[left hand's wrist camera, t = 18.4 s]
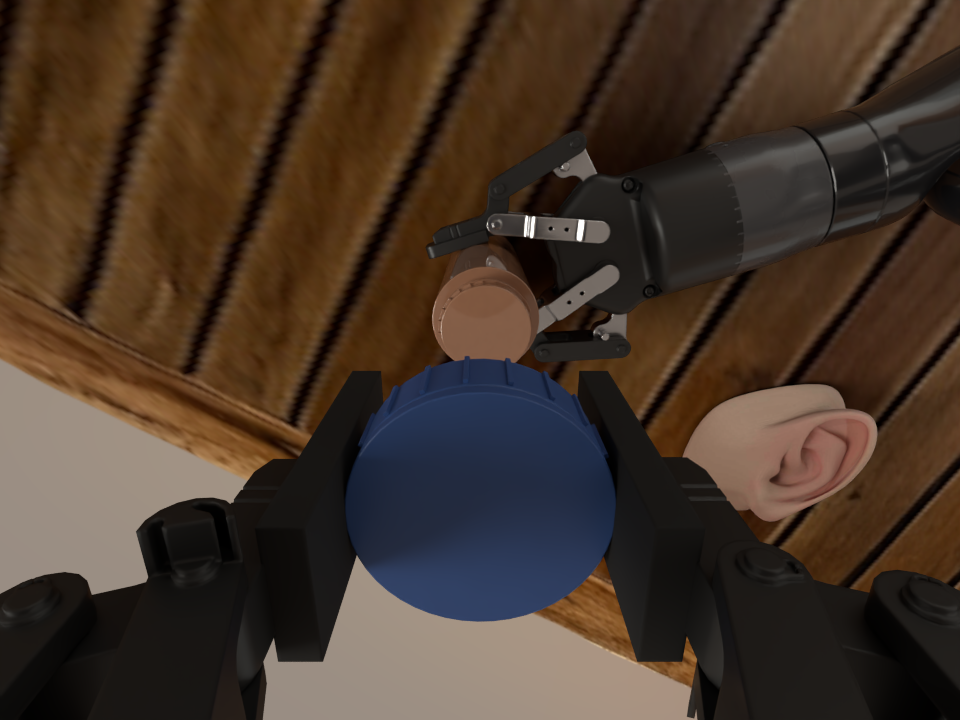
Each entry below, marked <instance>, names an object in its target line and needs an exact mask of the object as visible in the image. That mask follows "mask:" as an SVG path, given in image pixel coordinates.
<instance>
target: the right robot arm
mask: <svg viewBox="0 0 960 720" xmlns="http://www.w3.org/2000/svg"><path fill="white" fill-rule="evenodd" d="M586 145H587V139H586V137H585V135H584V134H583V133H582V132H580V131H573V132H571V133H568V134H566V135H564V136H562V137H560V138H559V139H557V140H556V141H554V142H552V143H551V144H549V145H547V146H546V147H544V148H543V149H541V150H539V151H538V152H536V153H534V154H533V155H531V156H530V157H528V158H526V159H525V160H523V161H521V162H520V163H518V164H516V165H515V166H513V167H512V168H510V169H508V170H507V171H505V172H503V173H502V174H500V175H499V176H497V177H495V178H494V179H492V180H491V181H490V183H489V185H488V200H487V208H486V210H485V212H484V213H483V214H482V215H480V216H477V217H474V218H471V219H468V220H465V221H461V222H458V223H455V224H452V225H448V226H445V227H442V228H440V229H439V230H438V231H437V232H436V233H434V235H433V239H434V242H432V243H429V244H428V245H427V246H426V250H427V253H428V256H429V259H432V258H436V257H439V256H442V255H446V254H449V253H452V252H456V251H459V250H462V249H465V248H469V247H471V246H475V245H478V244H482V243H485V242H488V241H489V237H491V236H494V235H501V236H517V237H527V238H534V239H544V242H545V246H546V249H547V251H548V253H549V254H550V256H551V258H552V273H553V277H554V281H555V284H553V285H552V286H550V287H549V288H548V289H546V290H545V291H544V292H543V293H542V294H541V295H540V296H539V297H538V298H537V299H536V302H537V305H538V309H539V326H538V331H537V334H536V337H535V339H534V341H533V343H532V345H531V346H530V349H531V350H532V351H533V353H534V355H535V357H536V359H537V360H538V361H540V362H557V361H575V360H593V359H611V358H623V357H626V356H627V355H628V354H629V353H630V350H631V346H630V343H629V342H628V341H627V339H626V325H627V313H629V312H630V311H632V310H633V309H634V308H635V307H636V306H637V305H639V304H640V303H641V302H643V301H645V300H647V299H650V298H654V297H659V296H662V295H666V294H669V293H673V292H676V291H680V290H683V289H686V288H690V287H693V286H697V285H700V284H704V283H707V282H711V281H715V280H718V279H722V278H725V277H729V276H732V275H735V274H739V273H742V272H746V271H749V270H753V269H756V268H760V267H763V266H767V265H770V264H773V263H776V262H778V261H781V260H783V259H786V258H788V257H790V256H792V255H795V254H797V253H799V252H802V251H805V250H808V249H810V248H813V247H817V246H820V245H824V244H827V243H831V242H834V241H838V240H841V239H845V238H848V237H852V236H855V235H858V234H862V233H865V232H869V231H872V230H875V229H878V228H881V227H884V226H886V225H889V224H891V223H894V222H896V221H898V220H900V219H902V218H903V217H905V216H906V215H908V214H909V213H910V212H911V211H912V210H913V209H914V208H915V207H916V206H917V205H918V204H919V203H920V202H921V201H922V200H923V199H924V201H925V202H926V204H927V205H928V206H929V207H930V208H931V209H932V210H933V211H934V212H935V213H936V214H938V215H940V216H941V217H943V218H945V219H947V220H949V221H951V222H953V223H955V224H957V225H959V226H960V45H959V46H957V47H955V48H953V49H952V50H950V51H948V52H946V53H945V54H943V55H941V56H940V57H938V58H936V59H935V60H933V61H931V62H930V63H928V64H926V65H924V66H923V67H921V68H919V69H918V70H916V71H914V72H913V73H911V74H909V75H908V76H906V77H904V78H902V79H901V80H899V81H897V82H895V83H893V84H892V85H890V86H888V87H887V88H885V89H884V90H882V91H880V92H879V93H877V94H876V95H874V96H873V97H871V98H870V99H868V100H866V101H865V102H863V103H861V104H859V105H857V106H855V107H852V108H848V109H845V110H841V111H838V112H835V113H832V114H829V115H825V116H822V117H819V118H816V119H813V120H809V121H806V122H803V123H800V124H796V125H793V126H790V127H787V128H783V129H779V130H774V131H768V132H761V133H756V134H751V135H747V136H743V137H739V138H736V139H733V140H730V141H726V142H717V143H714V144H711V145H709V146H707V147H706V148H704V149H701V150H697V151H694V152H691V153H688V154H685V155H681V156H678V157H675V158H672V159H669V160H666V161H662V162H659V163H656V164H653V165H650V166H646V167H643V168H640V169H637V170H633V171H630V172H627V173H624V174H620V175H616V176H611V175H606V174H601V173H600V174H599V173H597V172H596V170H595V168H594V166H593V164H592V162H591V160H590V158H589V156H588V153H587V151H586V149H585V148H586ZM551 171H552V172H553V174H554V175H555V176H557V177H560V178H566V177H569V176H575V177H577V178H578V179H579V181H580V182H579V183H578V184H577V186H576V187H575V188H574V189H573V191H572V192H571V193H570V195H569V196H568V197H567V198H566V200H565V201H564V202H563V204H562V205H561V206H560V207H559V209H558V210H557V211H556V213H555V214H554V213H538V212H513V211H508V207H509V196H511V195H512V194H514V193H516V192H517V191H519V190H521V189H522V188H524V187H526V186H527V185H529V184H531V183H532V182H534V181H536V180H537V179H539V178H541V177H542V176H544V175H546V174H547V173H549V172H551ZM560 291H561V292H560ZM569 300H570V302H567V301H569ZM583 304H585V305H588V306H591V307H594V308H597V309H599V310H602V311H605V312H608V315H607V317H606V318H605V319H603V320H600V321H597V322H595V323H594V324H593V325H592V326H591V330H576V331H559V332H544V331H543V329H545V328H546V327H548V326H549V325H550V324H552V323H553V322H555V321H559V320H562V319H563V318H565V317H566V316H568V315H569V314H570V313H572V312H573V311H575V310H576V309H577V308H579V307H580V306H582V305H583Z"/></svg>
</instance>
